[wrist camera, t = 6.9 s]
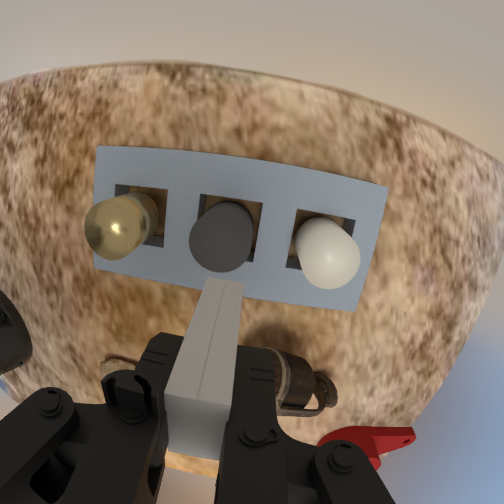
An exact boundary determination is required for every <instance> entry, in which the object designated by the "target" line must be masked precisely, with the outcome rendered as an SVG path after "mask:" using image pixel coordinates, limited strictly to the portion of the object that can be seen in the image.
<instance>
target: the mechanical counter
mask: <svg viewBox="0 0 504 504" xmlns="http://www.w3.org/2000/svg"><path fill="white" fill-rule="evenodd" d="M261 348H263V349H267V351H268V352H269V354H270V355H271V357H272V359H273V365H274V383H275V396H276V412H277V416H297V417H312V416H316V415H318V414H320V413H321V412H322V411H323V410H324V408H325V407H331V408H332V407H334V406H335V405H336V404H337V399H338V395H337V390H336V387H335V385H334V383H333V382H332V381H331V380H330V379H329V378H327V377H326V376H325V375H323V374H321V373H313V371H312V368H311V367H310V365H309V364H308V362H307V361H306V360H305V359H303V358H301V357H299V356H296V355H292V354H289V353H286V352H283V351H280V350H277V349H275V348H272V347H261ZM313 393H314V395H315V397H316V398H317V400H318V403H319V407H318V409H303V408H304V407H305V406H306V405H307V404H308V402H309V400H310V399H311V396H312V394H313Z"/></svg>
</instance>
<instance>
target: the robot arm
mask: <svg viewBox="0 0 504 504" xmlns="http://www.w3.org/2000/svg"><path fill="white" fill-rule="evenodd" d="M243 286H244V283H241V282H235V281H229V280H223V279H217V278H211V277H208V278H207V281H206V283H205V286H204V288H203V291H202V293H201V296H200V298H199V301H198V303H197V306H196V309H195V311H194V314H193V316H192V319H191V321H190V324H189V327H188V329H187V332H186V335H185V337H183V336H178V335H173V334H168V333H164V332H160V333H159V334H157V335H156V336H155V337H153V338H152V339H150V341H149V343H148V345H147V347H146V349H145V352H143V354H142V356H141V359H140V360H139V362H138V364H137V366H136V368H135V370H129V369H123V370H116V371H114V372H112V373H109V374H107V375H106V376H105V377H104V378H103V379H102V380H101V385H102V389H103V393H104V397H105V401H106V403H104V404H84V403H74V402H73V400H72V397H71V396H70V395H69V394H68V393H67V392H66V391H64V390H62V389H59V388H54V387H46V388H41V389H39V390H38V391H36V392H34V393H33V394H32V395H30V396H29V397H28V398H27V399H26V400H24V401H23V402H22V403H21V404H20V405H18V406H17V407H16V408H15V409H14V410H13V411H11V412H10V413H9V414H8V415H6V416H5V417H4V418H3V419H2V420H1V421H0V504H156V501H157V497H158V493H159V489H160V485H161V481H162V477H163V473H164V469H165V458H164V457H165V453H166V450H167V446H168V451H171V452H175V453H180V454H185V455H190V456H195V457H201V458H207V459H213V460H220V461H219V470H218V475H217V480H216V484H215V486H216V490H215V499H214V504H395V502H394V500H393V499H392V497H391V495H390V494H389V492H388V490H387V489H386V487H385V485H384V484H383V482H382V480H381V479H380V477H379V475H378V473H377V472H376V470H375V468H374V467H373V465H372V463H371V462H370V460H369V458H368V457H367V455H366V453H365V452H364V451H363V450H362V449H361V448H360V447H359V446H358V445H356V444H354V443H352V442H350V441H346V440H342V439H341V440H331V441H328V442H326V443H324V444H322V445H321V446H320V447H317V446H314V445H310V444H307V443H303V442H300V441H297V440H295V439H293V438H291V437H290V436H288V435H287V434H286V433H285V432H284V431H283V430H282V429H281V427H280V426H279V424H278V420H277V412H276V396H275V383H274V365H273V359H272V357H271V355H270V354H269V352H268V351H267V349H263V348H255V347H248V346H241V345H237V343H238V333H239V324H240V314H241V305H242V295H243ZM31 356H32V342H31V338H30V335H29V332H28V330H27V328H26V325H25V323H24V321H23V319H22V318H21V316H20V314H19V313H18V311H17V309H16V308H15V306H14V305H13V304H12V302H11V301H10V300H9V299H8V298H7V296H6V295H5V294H4V293H3V292H1V291H0V375H1V374H4V373H6V372H8V371H11V370H13V369H15V368H17V367H20V366H22V365H24V364H25V363H26V362H27V361H28V360H29V359H30V358H31Z"/></svg>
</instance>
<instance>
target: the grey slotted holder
mask: <svg viewBox="0 0 504 504" xmlns="http://www.w3.org/2000/svg"><path fill="white" fill-rule="evenodd" d="M129 185H131V186H141V187H150V188H159V189H168V196H167V207H166V219H165V233H164V237H160V236H153V235H152V236H151V237H150V238H149V239H147V240H146V241H145V242H143V243H142V244H141V245H139V246H138V247H137V248H136V249H134V250H133V251H132V252H130V253H129V254H128V255H127V256H125V257H124V258H122V259H120V260H114V261H112V260H107V259H104V258H102V257H100V256H99V255H97V254H96V253H95V252H94V251H93V256H94V268H95V269H100V270H104V271H109V272H113V273H118V274H123V275H127V276H132V277H137V278H142V279H147V280H152V281H157V282H162V283H167V284H173V285H178V286H183V287H189V288H194V289H200V290H203V288H204V286H205V283H206V281H207V278H208V277H211V278H217V279H223V280H229V281H235V282H241V283H244V286H243V295H242V297H248V298H254V299H261V300H268V301H274V302H281V303H288V304H296V305H303V306H311V307H318V308H326V309H335V310H343V311H352V312H355V310H356V307H357V304H358V301H359V298H360V295H361V292H362V289H363V286H364V282H365V279H366V276H367V273H368V269H369V266H370V262H371V259H372V255H373V252H374V248H375V244H376V241H377V237H378V233H379V229H380V225H381V221H382V217H383V212H384V208H385V203H386V199H387V194H388V189H389V187H385V186H382V185H378V184H374V183H370V182H366V181H362V180H358V179H354V178H350V177H346V176H341V175H337V174H332V173H328V172H323V171H318V170H313V169H308V168H303V167H298V166H293V165H287V164H282V163H276V162H270V161H264V160H258V159H251V158H244V157H237V156H230V155H222V154H214V153H205V152H196V151H186V150H175V149H162V148H147V147H128V146H97V151H96V162H95V175H94V193H93V206H94V205H95V204H97V203H99V202H102V201H105V200H108V199H111V198H114V197H117V196H120V195H123V194H127V193H129ZM206 194H207V195H214V196H221V197H228V198H235V199H242V200H248V201H254V202H261V203H262V208H261V214H260V220H259V226H258V232H257V238H256V244H255V250H254V251H250V254H249V256H248V258H247V260H246V261H245V262H244V263H243V264H242V265H241V266H240V267H239V268H237V269H235V270H233V271H230V272H225V273H218V272H212V271H210V270H207V269H205V268H204V267H202V266H201V265H200V264H198V262H197V261H196V260H195V259H194V257H193V256H192V254H191V251H190V248H189V234H190V231H191V229H192V227H193V225H194V224H195V223H196V221H197V220H198V219H199V218H200V217H201V216H202V215H204V211H205V202H206ZM297 209H302V210H307V211H312V212H318V213H323V214H328V215H333V216H338V217H343V218H345V222H344V227H343V230H344V231H345V232H346V233H347V234H348V235H349V236H350V237H351V238H352V239H353V240H354V241H355V242H356V244H357V245H358V247H359V250H360V257H361V259H360V265H359V268H358V271H357V273H356V274H355V276H354V277H353V278H352V279H351V280H350V281H349V282H348V283H347V284H345V285H343V286H341V287H339V288H335V289H322V288H319V287H316V286H314V285H313V284H311V283H310V282H309V281H308V280H307V278H306V277H305V275H304V273H303V271H302V267H301V264H300V261H299V259H298V258H291V257H288V252H289V247H290V242H291V237H292V232H293V227H294V222H295V217H296V211H297Z"/></svg>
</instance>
